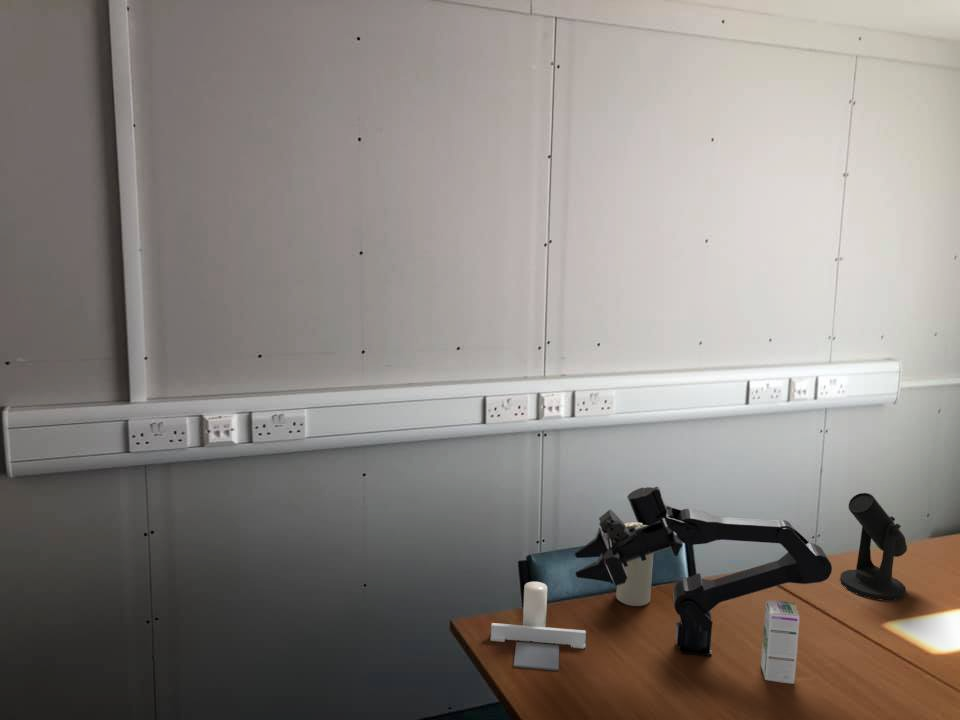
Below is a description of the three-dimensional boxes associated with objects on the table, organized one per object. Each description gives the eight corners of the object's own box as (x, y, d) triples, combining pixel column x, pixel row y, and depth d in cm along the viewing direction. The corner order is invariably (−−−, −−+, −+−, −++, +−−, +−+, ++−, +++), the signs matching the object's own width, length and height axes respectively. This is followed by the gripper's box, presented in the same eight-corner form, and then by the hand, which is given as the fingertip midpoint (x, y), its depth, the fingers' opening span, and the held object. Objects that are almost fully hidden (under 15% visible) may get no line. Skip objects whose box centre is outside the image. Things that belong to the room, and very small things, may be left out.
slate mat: (558, 647, 162) (559, 645, 162) (558, 670, 153) (558, 668, 153) (516, 643, 163) (516, 641, 163) (513, 666, 154) (513, 665, 154)
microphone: (822, 578, 199) (832, 485, 195) (875, 571, 204) (886, 480, 200) (866, 604, 185) (878, 505, 181) (922, 596, 190) (935, 499, 186)
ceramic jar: (545, 624, 171) (547, 582, 169) (545, 636, 166) (547, 592, 165) (523, 622, 172) (525, 580, 170) (522, 634, 167) (523, 591, 165)
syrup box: (795, 684, 151) (802, 615, 148) (763, 680, 152) (770, 612, 150) (789, 668, 156) (796, 602, 154) (759, 664, 157) (765, 598, 155)
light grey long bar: (584, 641, 165) (585, 628, 164) (585, 648, 162) (585, 635, 161) (491, 633, 167) (492, 620, 166) (490, 640, 164) (491, 627, 163)
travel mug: (654, 597, 185) (659, 526, 182) (642, 610, 179) (647, 537, 176) (623, 588, 190) (628, 519, 187) (610, 601, 183) (615, 529, 180)
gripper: (627, 491, 170) (561, 514, 172) (635, 525, 152) (561, 551, 154) (645, 535, 171) (580, 558, 174) (655, 574, 153) (582, 599, 156)
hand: (575, 564), depth 164 cm, fingers open, 9 cm apart
